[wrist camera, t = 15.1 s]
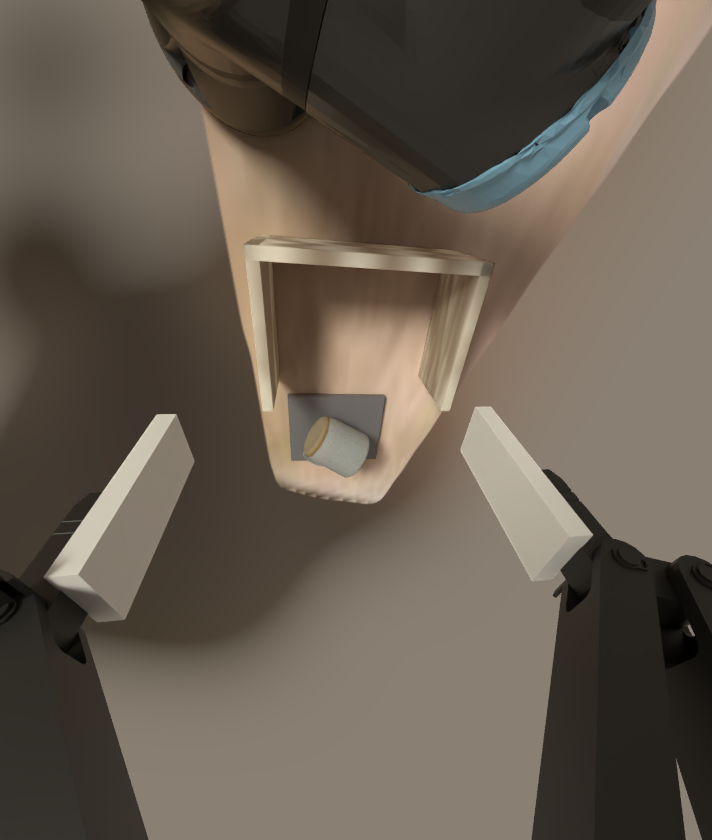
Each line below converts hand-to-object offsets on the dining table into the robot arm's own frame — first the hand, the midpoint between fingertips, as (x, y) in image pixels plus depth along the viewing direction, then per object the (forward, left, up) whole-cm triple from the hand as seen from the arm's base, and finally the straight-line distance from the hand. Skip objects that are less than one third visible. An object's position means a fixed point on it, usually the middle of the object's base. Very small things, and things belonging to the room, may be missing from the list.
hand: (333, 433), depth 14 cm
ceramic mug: (+2, -23, -29) cm, 38 cm away
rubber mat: (+3, -22, -30) cm, 37 cm away
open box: (+5, -3, -30) cm, 30 cm away
